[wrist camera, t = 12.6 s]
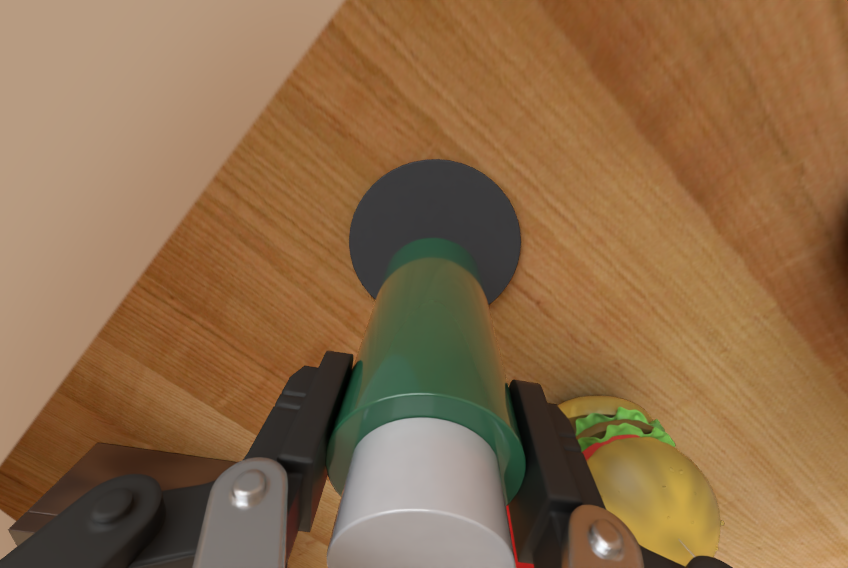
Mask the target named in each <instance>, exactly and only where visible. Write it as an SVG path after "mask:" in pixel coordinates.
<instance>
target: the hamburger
mask: <svg viewBox="0 0 848 568" xmlns="http://www.w3.org/2000/svg"><path fill="white" fill-rule="evenodd" d="M558 407H559V408H560V409H561V411H562V412H563V413H564V414H565V415H566V416H567V418H568V419H569V420H570V423H571V425H572V427H573V430H574V432H575V435H576V439H577V440H578V442H579V444H580V447H581V449H582V450H581V452H582V453H583V454H584V456H585V459H586V461H587V464H588V466H589V469H590V471H591V473H592V476H593V478H594V481H595V483H596V486H597V488H598V490H599V493H600V495H601V498H602V500H603V502H604V505H605V507H606V509H607V510H608V511H609V512H611V513H613V514H614V515H615V516H617V517H618V518H619V519H620V520H621V521H623V522H624V523H625V524H626V526H627V527H628V528H629V529H630V530H631V532H632V533H633V535H634V536H635V538H636V540H637V541H638V544H639V545H641V546H643V547H645V548H646V549H648V550H650V551H653V552H655V553H657V554H659V555H661V556H663V557H666V558H668V559H670V560H672V561H674V562H676V563H679V564H681V565H683V566H686V565H687V564H688V563H689V561H690V560H691V559H693V558H694V557H696V556H710V557H714V555H715V552H716V550H718V542H719V538H720V526H721V525H722V526H723V525H724V524H725V523H724V521H722V520H720V512H719V506H718V503H717V499H716V497H715V494H714V492H713V490H712V488H711V486H710V484H709V482H708V480H707V479H706V477H705V476H704V474H703V473H702V472H701V471H700V470H699V468H698V467H697V466H696V465H695V464H694V463H693V461H692V460H691V459H689V458H688V457H687V456H685V455H684V454H682V453H681V452H680V451H678V450H677V449H676V448H675V443H674V442H673V440H672V439H671V438H670V436H669V435H668V434H667V433H666V432H665V430H664V428H663V427H662V426H661V424H660V423H659V421H658V419H656V420H654V421H653V420H652V418H651V417H650V415H649V414H648V413H647V412H646V411H645V410H644V409H643V408H642V407H640V406H638V405H637V404H635V403H633V402H630V401H628V400H625V399H622V398H617V397H612V396H599V395H593V396H584V397H577V398H573V399H570V400H568V401H565V402H563V403H561V404H559V405H558Z"/></svg>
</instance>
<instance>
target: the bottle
mask: <svg viewBox="0 0 848 568" xmlns="http://www.w3.org/2000/svg"><path fill="white" fill-rule="evenodd" d="M325 465H326V470H327V474H328V477H329V479H330V482H331V484H332V485H333V487H334V489H335V490H336V492H337V493H338V494H339V495H340V497H341V499H340V503H339V507H338V511H337V515H336V519H335V522H334V526H333V530H332V534H331V538H330V542H329V546H328V550H327V566H328V568H516V564H515V557H514V551H513V545H512V539H511V533H510V527H509V521H508V515H507V509H506V506H507V505H508V504H509V503H510V502H511V501H512V500H513V499H514V498H515V496H516V495H517V494H518V492H519V490H520V488H521V486H522V483H523V480H524V477H525V472H526V456H525V452H524V448H523V444H522V440H521V436H520V432H519V428H518V424H517V420H516V416H515V412H514V407H513V403H512V399H511V395H510V391H509V387H508V383H507V379H506V375H505V371H504V367H503V363H502V359H501V354H500V350H499V346H498V342H497V338H496V334H495V330H494V326H493V322H492V318H491V314H490V310H489V306H488V301H487V297H486V293H485V289H484V285H483V281H482V277H481V273H480V269H479V267H478V265H477V263H476V261H475V259H474V258H473V257H472V255H471V254H470V253H469V252H468V251H467V250H466V249H464V248H463V247H461V246H460V245H458V244H456V243H454V242H452V241H449V240H445V239H441V238H425V239H419V240H416V241H413V242H411V243H409V244H407V245H405V246H404V247H402V248H401V249H400V250H398V251H397V252H396V253H395V255H394V256H393V257H392V258H391V260H390V262H389V264H388V266H387V268H386V271H385V274H384V277H383V280H382V283H381V286H380V289H379V292H378V295H377V298H376V301H375V304H374V307H373V310H372V313H371V316H370V319H369V322H368V324H367V327H366V330H365V333H364V336H363V339H362V342H361V345H360V348H359V351H358V354H357V357H356V360H355V363H354V366H353V369H352V372H351V375H350V378H349V381H348V384H347V387H346V390H345V393H344V396H343V398H342V401H341V404H340V407H339V410H338V413H337V416H336V419H335V422H334V425H333V428H332V431H331V434H330V437H329V440H328V443H327V447H326V460H325Z"/></svg>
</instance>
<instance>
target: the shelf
mask: <svg viewBox="0 0 848 568" xmlns="http://www.w3.org/2000/svg"><path fill="white" fill-rule="evenodd" d="M236 463H238V462H231V461H224V460H217V459H210V458H203V457H195V456H188V455H181V454H174V453H167V452H160V451H153V450H146V449H139V448H132V447H125V446H118V445H111V444H104V443H97V444H96V445H95V446H94V447H93V448H92V449H91V450H90V451H89V452H88V453H87V454H85V455H84V456H83V457H82V458H81V459H80V460H79V461H78V462H77V463H76V464H75V465H74V466H73V467H72V468H71V469H70V470H69V471H68V472H67V473H66V474H65V475H64V476H63V477H62V478H61V479H60V480H59V481H58V482H57V483H56V484H55V485H54V486H53V487H52V488H51V489H50V490H49V491H48V492H46V493H45V494H44V495H43V496H42V497H41V498H40V499H39V500H38V501H37V502H36V503H35V504H34V505H33V506H32V507H31V508H30V509H29V510H28V511H27V512H26V513H25V514H24V515H23V516H22V517H21V518H20V519H19V520H17V521H16V522H15V523H14V524H13V525H12V526H11V527H10V529H9V532H10V534H11V536H12V538H13V540H14V541H15V543H16V545H17V547H18V546H19V545H20V544H21V543H23V542H24V541H25V540H26V539H28V538H29V537H30V536H32V535H33V534H34V533H35V532H37V531H38V530H39V529H40V528H42V527H43V526H44V525H46V524H47V523H48V522H49V521H51V520H52V519H53V518H54V517H56V516H57V515H58V514H60V513H61V512H62V511H63V510H65V509H66V508H67V507H68V506H70V505H71V504H72V503H74V502H75V501H76V500H77V499H79V498H80V497H81V496H82V495H84V494H85V493H86V492H88V491H89V490H91V489H92V488H94V487H96V486H97V485H99V484H101V483H103V482H105V481H107V480H110V479H113V478H115V477H119V476H123V475H128V474H144V475H148V476H151V477H152V478H154V479H156V481H157V482H158V483H159V485H160V487H161V490H162V491H164V490H170V489H177V488H183V487H189V486H196V485H201V484H205V483H209V482H212V481H214V480H217V479H218V477H219V476H220V475H221V474H222V473H223V472H224V471H225V470H227V469H228V468H229V467H231V466H232V465H234V464H236Z"/></svg>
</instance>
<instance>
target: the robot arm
mask: <svg viewBox="0 0 848 568" xmlns="http://www.w3.org/2000/svg"><path fill="white" fill-rule="evenodd" d="M352 366H353V354H347V353H340V352H334V351H327V352H326V353H325V355H324V357H323V359H322V362H321V364H320V366H319V368H317V367H310V366H304V367H302V368H301V369H300V370H298V371H297V372H296V373H295V374H293V375H292V376H291V377H290V378H289V380H288V382H287V384H286V386H285V387H284V389H283V391H282V394H280V396H279V398H278V400H277V402H276V403H275V407H273V409H272V411H271V412H270V414H269V416H268V418H267V419H266V421H265V423H264V425H263V427H262V428H261V430H260V432H259V434H258V436H257V437H256V439H255V441H254V443H253V444H252V446H251V448H250V450H249V452H248V453H247V455H246V457H245V458H244V459H243V461H240V462H238V463H236V464H234V465H232V466H231V467H229V468H228V469H227V470H225V471H224V472H223V473H222V474H221V475H220V476H219V477H218V479H217V480H214V481H212V482H209V483H205V484H201V485H196V486H189V487H183V488H177V489H170V490H164V491H162V490H161V487H160V485H159V483H158V482H157V481H156V479H154V478H152V477H151V476H148V475H144V474H128V475H123V476H119V477H115V478H113V479H110V480H107V481H105V482H103V483H101V484H99V485H97V486H96V487H94V488H92V489H91V490H89V491H88V492H86V493H85V494H84V495H82V496H81V497H80V498H79V499H77V500H76V501H75V502H74V503H72V504H71V505H70V506H68V507H67V508H66V509H65V510H63V511H62V512H61V513H60V514H58V515H57V516H56V517H54V518H53V519H52V520H51V521H49V522H48V523H47V524H46V525H44V526H43V527H42V528H40V529H39V530H38V531H37V532H35V533H34V534H33V535H32V536H30V537H29V538H28V539H26V540H25V541H24V542H23V543H21V544H20V545H19V546H18V547H16V548H15V549H14V550H12V551H11V552H10V553H9V554H7V555H6V556H5V557H4V558H2V559H1V560H0V568H288V559H289V556H290V553H291V550H292V547H293V544H294V541H295V538H296V535H297V532H298V531H305V532H310V530H311V527H312V524H313V521H314V517H315V514H316V511H317V508H318V505H319V501H320V498H321V495H322V492H323V488H324V485H325V482H326V479H327V475H328V474H327V470H326V465H325V460H326V447H327V443H328V440H329V437H330V434H331V431H332V428H333V425H334V422H335V419H336V416H337V413H338V410H339V407H340V404H341V401H342V398H343V396H344V393H345V390H346V387H347V384H348V381H349V378H350V375H351V372H352ZM509 391H510V395H511V399H512V403H513V407H514V412H515V416H516V420H517V424H518V428H519V432H520V436H521V440H522V444H523V448H524V452H525V456H526V472H525V477H524V480H523V483H522V486H521V488H520V490H519V492H518V494H517V495H516V496H515V498H514V499H513V500H512V501H511V502H510V503H509V504H508V506H509V512H510V518H511V524H512V530H513V536H514V541H515V547H516V553H517V559H518V562H522V563H529V564H534V568H732V567H731V566H729V565H728V564H726V563H724V562H722V561H720V560H718V559H716V558H713V557H710V556H696V557H694V558H693V559H691V560H690V561H689V563H688V564H687V565H686V566H683V565H681V564H679V563H676V562H674V561H672V560H670V559H668V558H666V557H663V556H661V555H659V554H657V553H655V552H653V551H650V550H648V549H646V548H645V547H643V546H641V545H639V544H638V541H637V540H636V538H635V536H634V535H633V533H632V532H631V530H630V529H629V528H628V527H627V526H626V524H625V523H624V522H623V521H621V520H620V519H619V518H618V517H617V516H615V515H614V514H613V513H611V512H609V511H608V510H607V509H606V507H605V505H604V502H603V500H602V498H601V495H600V493H599V490H598V488H597V486H596V483H595V481H594V478H593V476H592V473H591V471H590V469H589V466H588V464H587V461H586V459H585V456H584V454H583V453H582V452H581V450H582V449H581V447H580V444H579V442H578V440H577V439H576V435H575V432H574V430H573V427H572V425H571V423H570V420H569V419H568V418H567V416H566V415H565V414H564V413H563V412H562V411H561V409H560V408H559V407H558V406H557V405H556V404H549V403H547V401H546V398H545V395H544V393H543V390H542V387H541V385H540V384H538V383H532V382H525V381H519V380H512V382H511V383H510V386H509Z"/></svg>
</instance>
